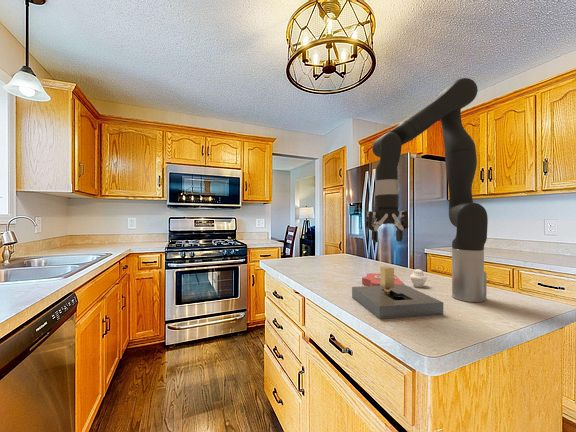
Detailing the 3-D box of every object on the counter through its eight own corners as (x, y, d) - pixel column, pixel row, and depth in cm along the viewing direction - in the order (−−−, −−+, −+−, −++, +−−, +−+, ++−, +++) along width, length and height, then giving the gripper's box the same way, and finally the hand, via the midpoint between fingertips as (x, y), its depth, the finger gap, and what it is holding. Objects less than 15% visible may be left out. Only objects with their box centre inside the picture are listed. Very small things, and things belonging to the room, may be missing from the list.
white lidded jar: (420, 283, 112) (420, 267, 112) (430, 287, 106) (430, 270, 106) (406, 284, 111) (406, 267, 111) (415, 288, 105) (415, 270, 105)
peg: (390, 298, 93) (390, 265, 93) (398, 303, 88) (398, 268, 88) (376, 299, 92) (376, 266, 92) (384, 303, 88) (384, 269, 87)
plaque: (359, 271, 121) (394, 272, 118) (359, 280, 121) (394, 281, 118) (364, 281, 103) (405, 283, 101) (364, 291, 103) (405, 293, 101)
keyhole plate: (403, 294, 98) (403, 284, 98) (443, 314, 78) (443, 302, 78) (352, 297, 95) (352, 286, 95) (379, 319, 75) (379, 306, 75)
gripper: (399, 194, 95) (400, 240, 95) (362, 194, 93) (362, 241, 93) (412, 193, 88) (413, 242, 88) (372, 193, 85) (372, 243, 86)
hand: (387, 241), depth 90 cm, fingers open, 8 cm apart
